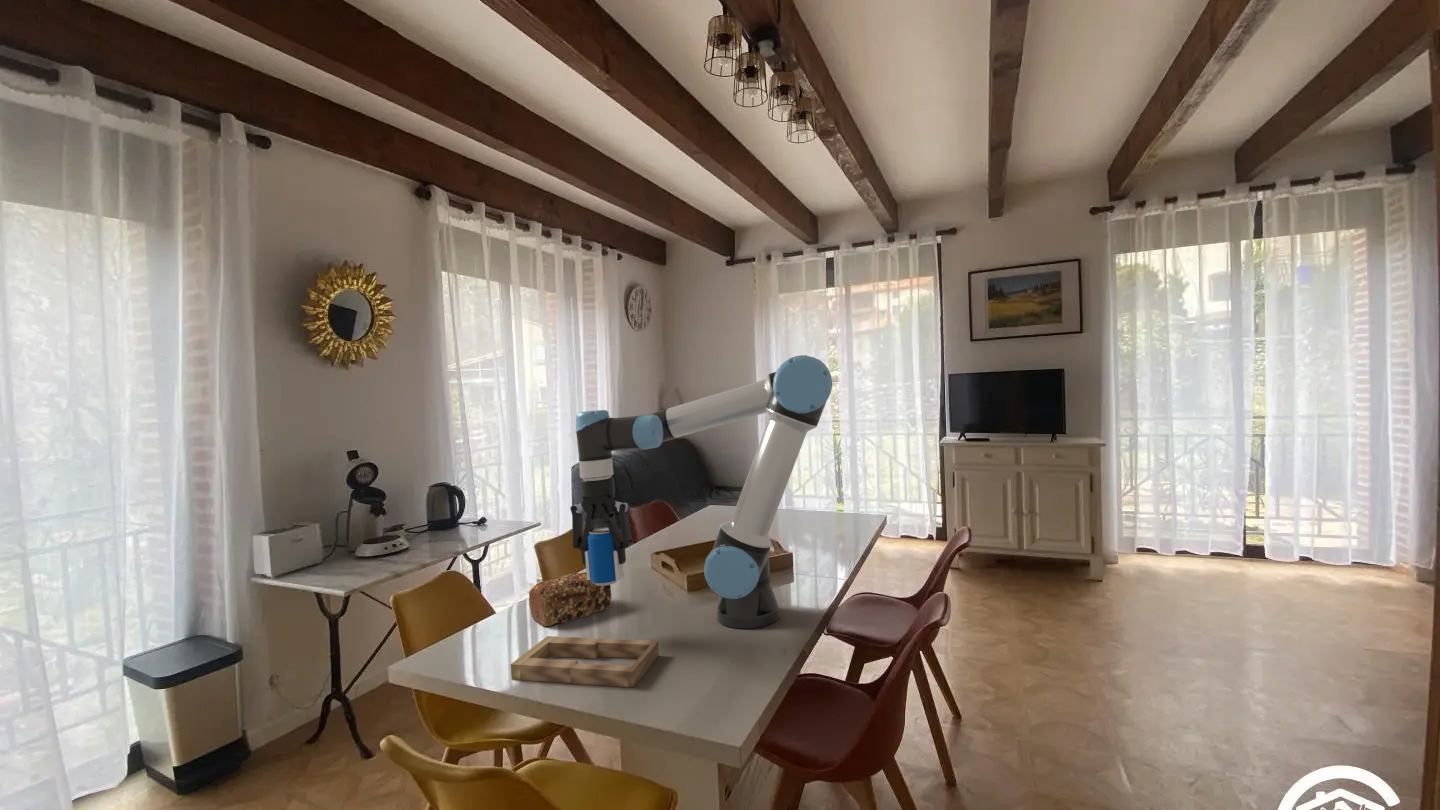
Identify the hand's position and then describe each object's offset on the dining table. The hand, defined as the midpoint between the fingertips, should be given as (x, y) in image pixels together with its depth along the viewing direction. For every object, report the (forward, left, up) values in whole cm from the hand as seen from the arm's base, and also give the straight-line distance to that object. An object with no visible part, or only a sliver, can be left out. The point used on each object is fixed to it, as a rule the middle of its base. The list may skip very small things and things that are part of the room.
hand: (605, 577), depth 139 cm
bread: (+17, -13, -14) cm, 25 cm away
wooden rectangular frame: (-2, +15, -14) cm, 20 cm away
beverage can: (0, 0, -1) cm, 1 cm away
